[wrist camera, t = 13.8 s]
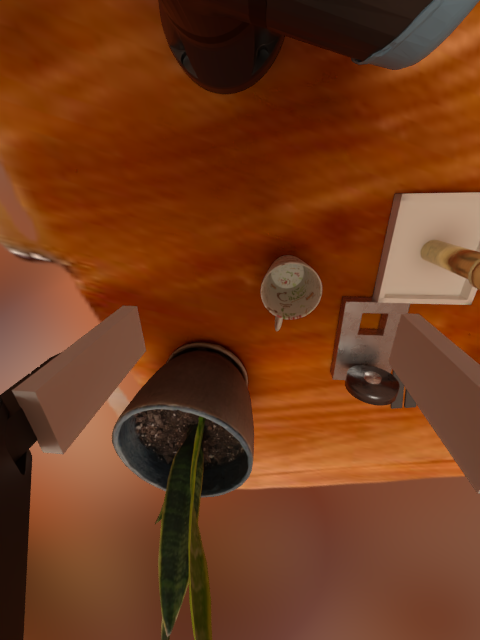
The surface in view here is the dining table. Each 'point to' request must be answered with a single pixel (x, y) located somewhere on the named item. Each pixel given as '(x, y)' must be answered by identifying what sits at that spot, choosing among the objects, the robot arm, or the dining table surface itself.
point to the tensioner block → (367, 350)
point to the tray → (408, 239)
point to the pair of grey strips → (399, 399)
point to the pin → (454, 259)
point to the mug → (290, 289)
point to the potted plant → (188, 461)
